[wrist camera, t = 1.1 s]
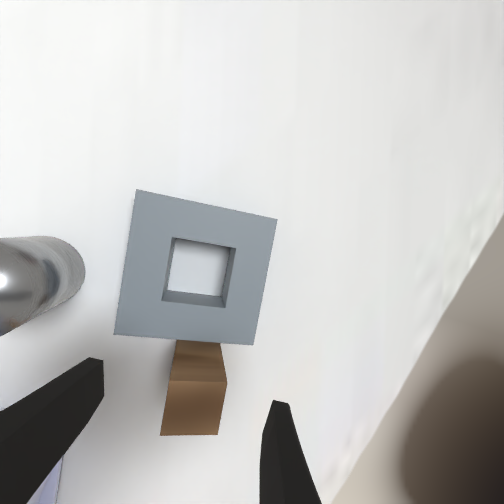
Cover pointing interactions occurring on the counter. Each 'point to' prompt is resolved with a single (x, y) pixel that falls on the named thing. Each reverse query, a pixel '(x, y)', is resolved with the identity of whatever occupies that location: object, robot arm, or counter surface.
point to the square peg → (195, 390)
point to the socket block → (189, 304)
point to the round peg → (36, 277)
